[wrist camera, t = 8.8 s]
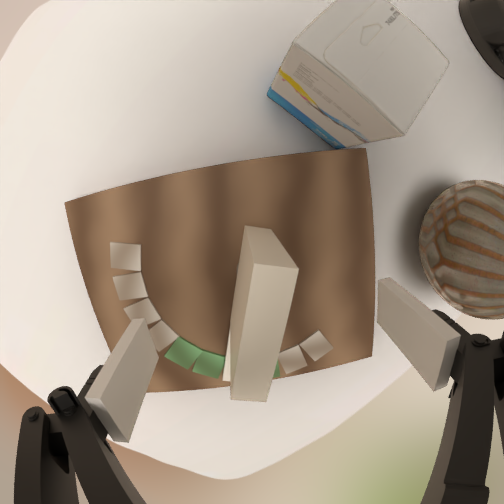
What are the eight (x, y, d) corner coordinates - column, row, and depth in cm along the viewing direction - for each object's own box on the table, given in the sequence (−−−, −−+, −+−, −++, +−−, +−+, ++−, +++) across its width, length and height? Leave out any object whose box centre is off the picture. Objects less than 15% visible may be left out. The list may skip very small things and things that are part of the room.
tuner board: (356, 149, 25) (367, 147, 23) (365, 346, 31) (372, 357, 29) (74, 200, 24) (62, 203, 22) (134, 382, 30) (129, 394, 28)
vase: (377, 230, 27) (510, 297, 10) (446, 153, 25) (574, 160, 9) (428, 306, 30) (522, 384, 13) (486, 235, 28) (585, 275, 12)
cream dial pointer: (243, 221, 24) (254, 263, 12) (267, 224, 24) (298, 269, 13) (220, 376, 27) (218, 468, 16) (240, 378, 28) (245, 470, 17)
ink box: (336, 152, 25) (404, 140, 14) (264, 95, 23) (287, 40, 12) (381, 93, 23) (453, 62, 12) (315, 39, 22) (360, -24, 10)
